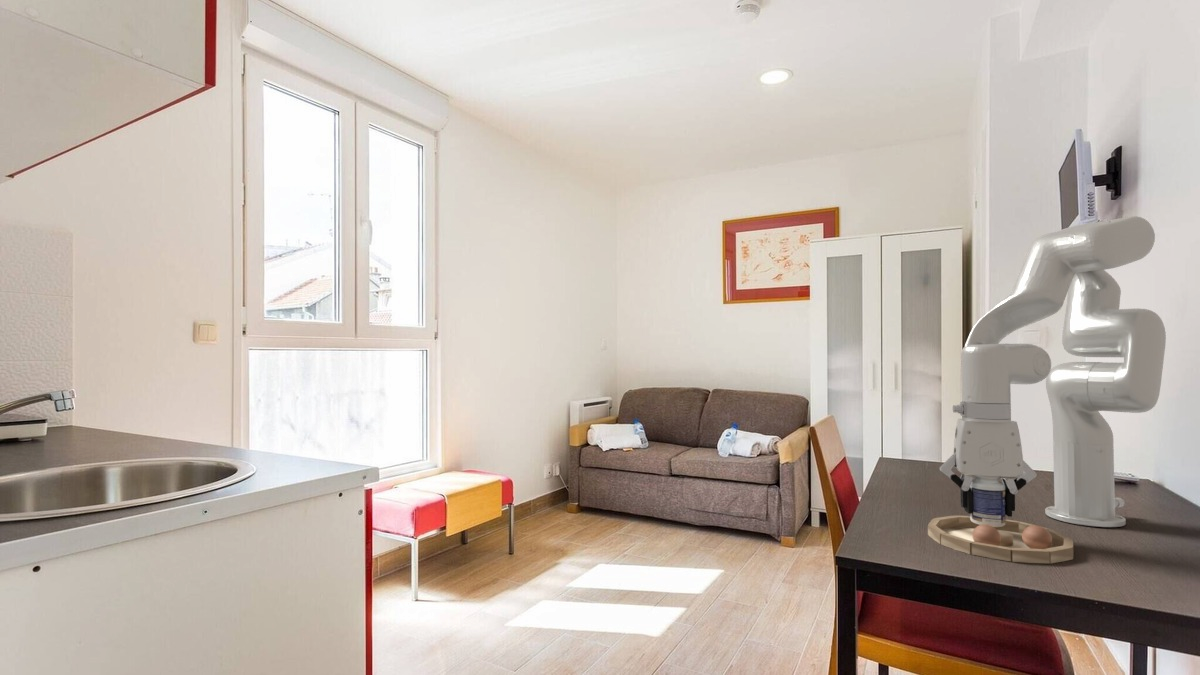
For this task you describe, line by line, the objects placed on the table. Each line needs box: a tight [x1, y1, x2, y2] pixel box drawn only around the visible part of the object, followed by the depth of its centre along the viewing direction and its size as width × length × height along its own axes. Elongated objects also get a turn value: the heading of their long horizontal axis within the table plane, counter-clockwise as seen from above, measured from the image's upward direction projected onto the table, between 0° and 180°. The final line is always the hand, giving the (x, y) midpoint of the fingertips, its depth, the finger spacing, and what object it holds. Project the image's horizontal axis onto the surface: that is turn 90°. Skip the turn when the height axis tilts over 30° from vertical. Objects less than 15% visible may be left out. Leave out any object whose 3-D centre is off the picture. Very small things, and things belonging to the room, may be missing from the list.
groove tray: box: [927, 515, 1074, 564], centre depth 103 cm, size 20×20×3 cm
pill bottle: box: [969, 476, 1007, 527], centre depth 108 cm, size 5×5×10 cm
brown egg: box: [972, 524, 1001, 546], centre depth 99 cm, size 4×4×4 cm
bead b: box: [1022, 524, 1052, 549], centre depth 99 cm, size 4×4×4 cm
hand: (987, 512), depth 108 cm, fingers closed on pill bottle, 5 cm apart
